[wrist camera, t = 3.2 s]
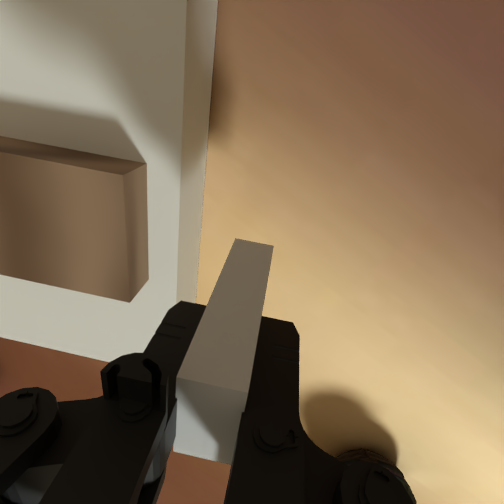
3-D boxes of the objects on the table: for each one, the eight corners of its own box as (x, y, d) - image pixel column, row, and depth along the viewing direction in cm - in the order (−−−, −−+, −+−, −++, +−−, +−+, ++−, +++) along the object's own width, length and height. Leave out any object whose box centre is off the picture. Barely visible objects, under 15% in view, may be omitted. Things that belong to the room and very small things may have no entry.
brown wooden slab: (146, 163, 13) (122, 175, 12) (148, 279, 16) (129, 302, 15) (-48, 126, 14) (-99, 132, 12) (-13, 245, 17) (-50, 263, 15)
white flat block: (219, -16, 13) (188, -51, 10) (193, 332, 23) (173, 376, 20) (-82, -61, 14) (-207, -107, 11) (15, 293, 24) (-35, 328, 20)
